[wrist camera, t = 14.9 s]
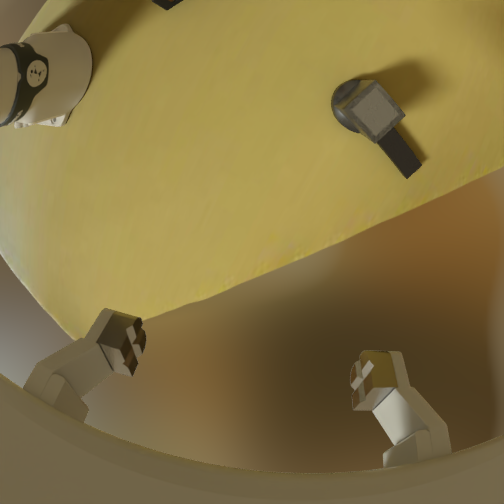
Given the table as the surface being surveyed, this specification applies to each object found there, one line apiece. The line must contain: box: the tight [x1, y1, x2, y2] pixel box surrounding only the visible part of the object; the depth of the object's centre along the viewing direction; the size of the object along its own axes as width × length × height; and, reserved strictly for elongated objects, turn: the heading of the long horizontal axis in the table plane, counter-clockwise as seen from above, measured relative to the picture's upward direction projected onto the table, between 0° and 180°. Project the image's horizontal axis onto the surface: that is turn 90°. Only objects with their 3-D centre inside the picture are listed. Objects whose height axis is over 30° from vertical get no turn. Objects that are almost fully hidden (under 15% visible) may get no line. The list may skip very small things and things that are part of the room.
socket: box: [334, 80, 406, 143], centre depth 26 cm, size 5×5×6 cm
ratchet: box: [331, 80, 422, 179], centre depth 30 cm, size 16×7×5 cm, turn 51°
